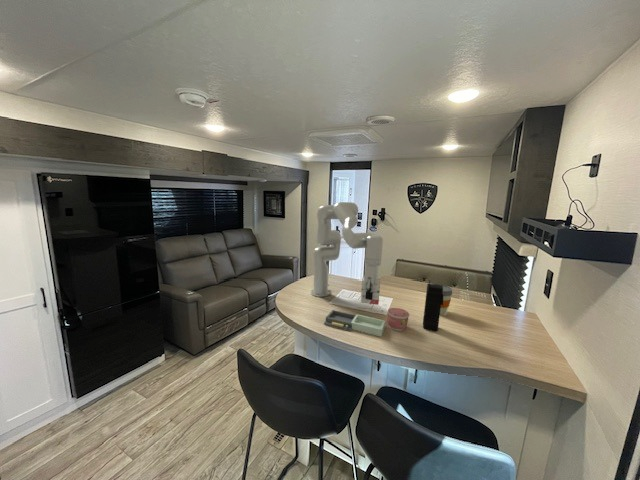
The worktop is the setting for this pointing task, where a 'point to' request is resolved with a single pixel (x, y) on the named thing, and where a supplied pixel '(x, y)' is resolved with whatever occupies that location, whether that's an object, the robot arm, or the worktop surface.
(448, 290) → the reusable coffee cup
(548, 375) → the worktop surface
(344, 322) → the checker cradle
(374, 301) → the ink box
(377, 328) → the trough
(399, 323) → the container
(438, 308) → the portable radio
